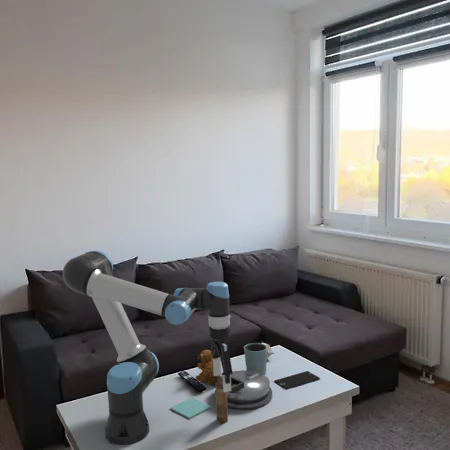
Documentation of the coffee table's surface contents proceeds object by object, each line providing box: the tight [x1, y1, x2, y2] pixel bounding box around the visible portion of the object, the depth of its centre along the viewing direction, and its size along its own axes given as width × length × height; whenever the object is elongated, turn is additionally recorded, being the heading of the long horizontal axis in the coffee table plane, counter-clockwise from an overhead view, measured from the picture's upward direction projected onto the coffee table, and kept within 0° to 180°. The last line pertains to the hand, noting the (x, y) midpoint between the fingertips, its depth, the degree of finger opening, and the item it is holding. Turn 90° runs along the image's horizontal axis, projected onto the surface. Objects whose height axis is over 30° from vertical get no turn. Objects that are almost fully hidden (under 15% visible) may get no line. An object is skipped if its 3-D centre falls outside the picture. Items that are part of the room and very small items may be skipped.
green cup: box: [243, 342, 268, 376], centre depth 219 cm, size 10×10×12 cm
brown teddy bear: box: [195, 349, 222, 386], centre depth 212 cm, size 10×14×13 cm
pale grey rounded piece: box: [261, 340, 275, 360], centre depth 234 cm, size 9×8×10 cm
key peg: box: [215, 381, 229, 424], centre depth 180 cm, size 4×4×14 cm
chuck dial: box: [217, 370, 271, 404], centre depth 199 cm, size 21×21×6 cm
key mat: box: [169, 397, 212, 420], centre depth 190 cm, size 11×11×1 cm
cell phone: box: [273, 370, 321, 391], centre depth 212 cm, size 9×18×1 cm, turn 119°
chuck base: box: [214, 387, 273, 411], centre depth 200 cm, size 23×23×2 cm
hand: (222, 383), depth 179 cm, fingers open, 13 cm apart
